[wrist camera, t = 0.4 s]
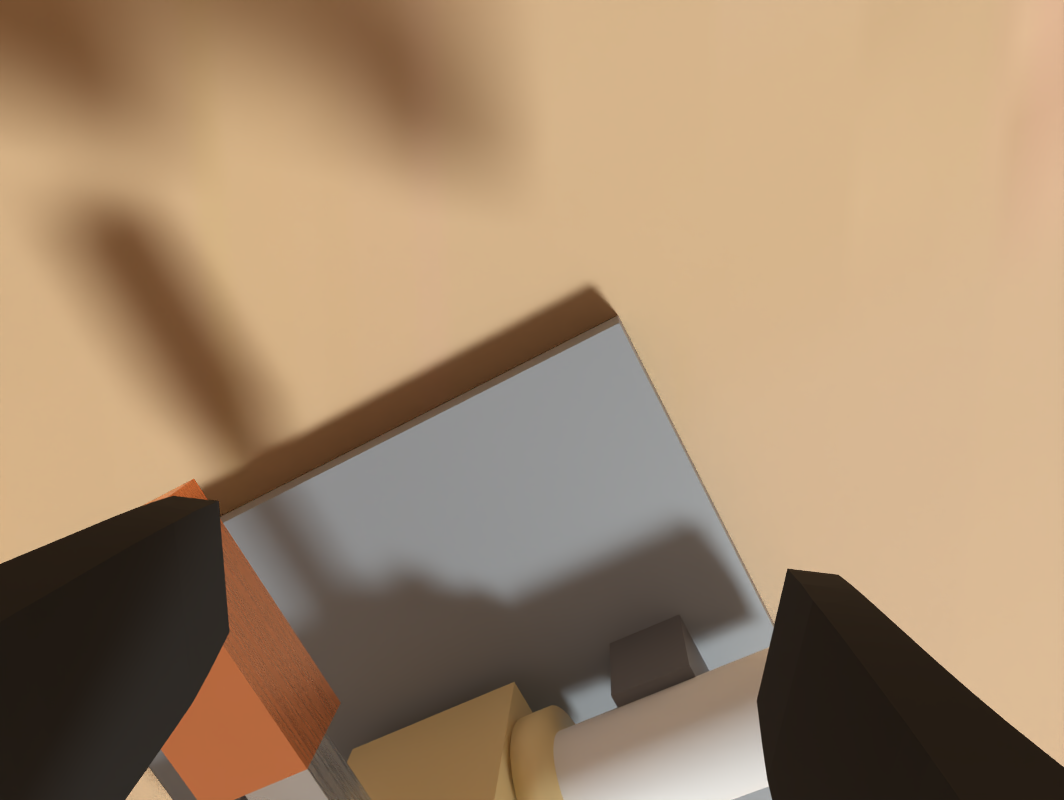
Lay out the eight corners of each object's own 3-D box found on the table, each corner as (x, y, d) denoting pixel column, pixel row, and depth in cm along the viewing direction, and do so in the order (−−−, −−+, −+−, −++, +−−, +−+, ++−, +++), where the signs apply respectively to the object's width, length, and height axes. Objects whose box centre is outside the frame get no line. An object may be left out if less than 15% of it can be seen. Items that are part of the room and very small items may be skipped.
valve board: (315, 940, 25) (224, 1182, 19) (67, 594, 22) (-133, 744, 16) (837, 750, 22) (933, 970, 16) (618, 315, 19) (627, 372, 13)
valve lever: (509, 953, 16) (499, 1043, 14) (413, 985, 17) (392, 1077, 15) (198, 476, 14) (141, 516, 12) (96, 529, 14) (28, 574, 13)
